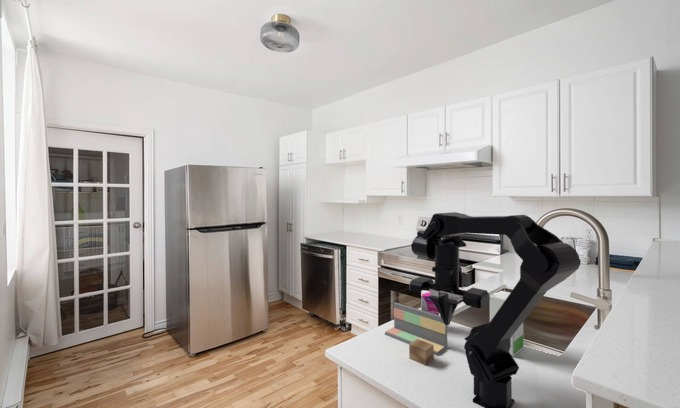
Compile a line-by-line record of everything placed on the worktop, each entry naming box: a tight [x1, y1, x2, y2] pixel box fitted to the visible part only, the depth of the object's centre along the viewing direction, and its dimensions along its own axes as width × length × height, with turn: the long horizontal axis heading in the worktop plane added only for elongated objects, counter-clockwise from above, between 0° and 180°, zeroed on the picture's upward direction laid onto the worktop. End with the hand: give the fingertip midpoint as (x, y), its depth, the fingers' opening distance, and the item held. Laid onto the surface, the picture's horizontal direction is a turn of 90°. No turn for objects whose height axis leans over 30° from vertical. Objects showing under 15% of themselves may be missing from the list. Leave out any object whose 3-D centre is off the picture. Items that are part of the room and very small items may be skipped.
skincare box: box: [489, 290, 525, 358], centre depth 88 cm, size 8×7×16 cm
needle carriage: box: [408, 339, 435, 366], centre depth 84 cm, size 5×6×4 cm
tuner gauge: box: [384, 302, 448, 356], centre depth 93 cm, size 18×6×9 cm, turn 44°
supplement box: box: [420, 289, 440, 316], centre depth 103 cm, size 6×6×12 cm
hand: (447, 324), depth 78 cm, fingers closed
